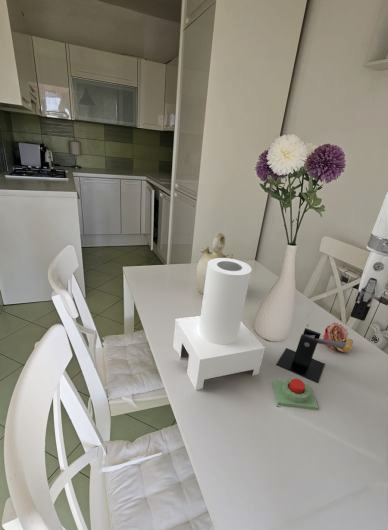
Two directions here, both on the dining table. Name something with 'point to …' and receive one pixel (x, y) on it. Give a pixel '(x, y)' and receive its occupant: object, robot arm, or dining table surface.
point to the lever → (334, 342)
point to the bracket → (303, 358)
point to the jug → (208, 256)
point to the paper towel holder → (220, 326)
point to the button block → (293, 395)
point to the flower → (336, 335)
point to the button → (297, 386)
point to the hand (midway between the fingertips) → (359, 310)
